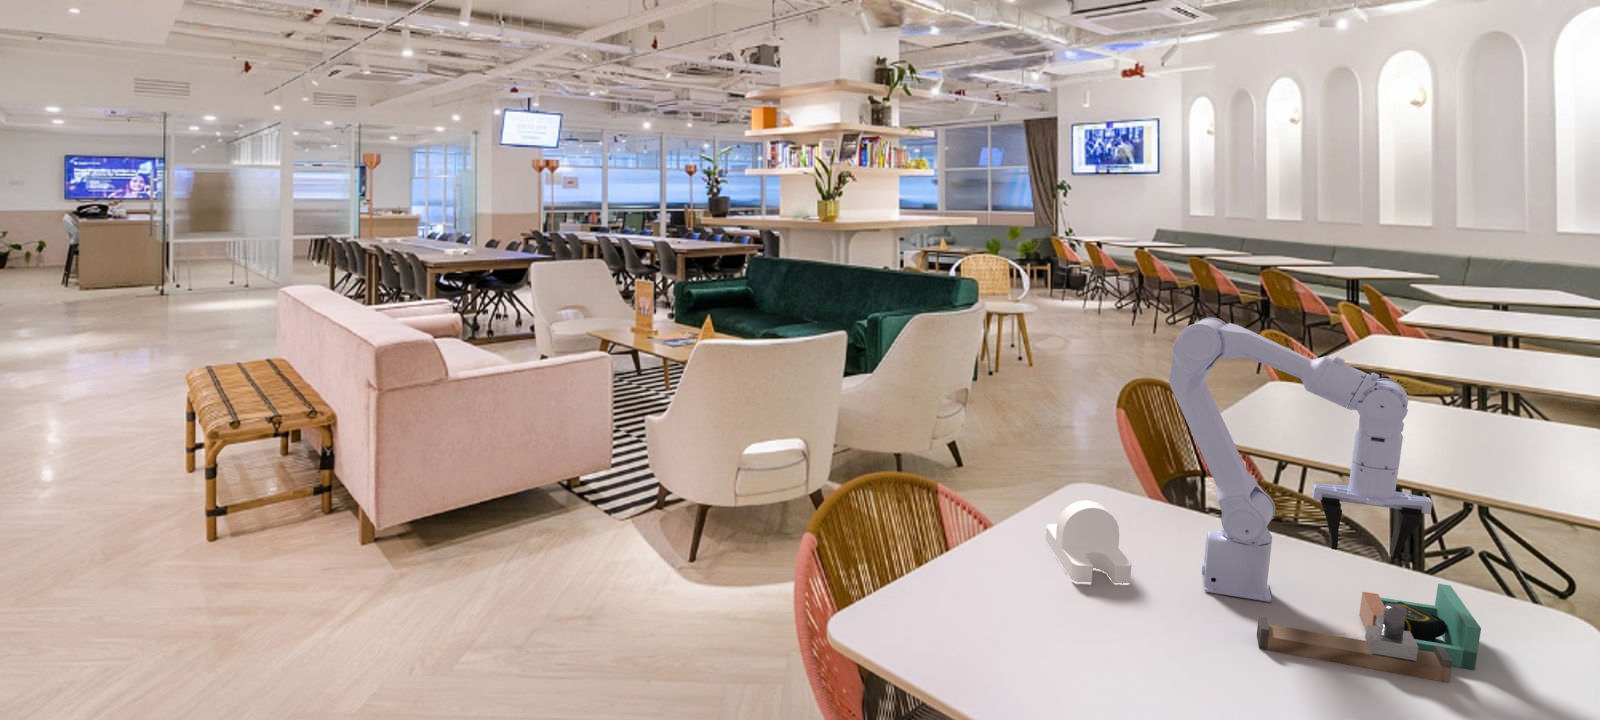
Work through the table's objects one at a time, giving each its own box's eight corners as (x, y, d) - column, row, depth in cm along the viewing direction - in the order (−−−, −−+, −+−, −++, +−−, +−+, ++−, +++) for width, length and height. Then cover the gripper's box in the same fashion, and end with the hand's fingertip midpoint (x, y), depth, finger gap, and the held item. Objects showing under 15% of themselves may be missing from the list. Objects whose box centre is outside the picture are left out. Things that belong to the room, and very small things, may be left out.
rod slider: (1369, 666, 116) (1377, 611, 114) (1347, 613, 130) (1353, 564, 129) (1414, 674, 114) (1422, 618, 112) (1386, 619, 128) (1393, 569, 127)
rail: (1259, 648, 121) (1261, 628, 120) (1256, 635, 125) (1258, 615, 124) (1449, 682, 113) (1452, 661, 112) (1440, 667, 116) (1443, 646, 116)
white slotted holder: (1096, 543, 158) (1100, 486, 156) (1132, 586, 141) (1137, 523, 139) (1043, 542, 159) (1046, 486, 157) (1072, 586, 141) (1076, 523, 139)
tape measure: (1447, 642, 123) (1450, 617, 123) (1415, 651, 121) (1419, 626, 120) (1398, 620, 129) (1401, 597, 129) (1367, 629, 127) (1370, 605, 126)
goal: (1386, 654, 119) (1391, 614, 118) (1365, 610, 132) (1370, 573, 131) (1474, 670, 116) (1481, 628, 114) (1444, 623, 128) (1450, 585, 127)
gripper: (1321, 464, 125) (1310, 552, 128) (1442, 478, 119) (1428, 570, 122) (1315, 451, 132) (1304, 536, 134) (1430, 464, 126) (1417, 552, 128)
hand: (1363, 551), depth 129 cm, fingers open, 7 cm apart
